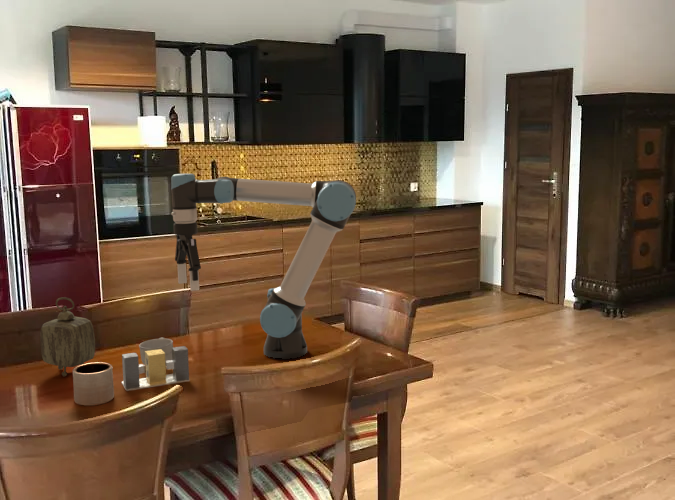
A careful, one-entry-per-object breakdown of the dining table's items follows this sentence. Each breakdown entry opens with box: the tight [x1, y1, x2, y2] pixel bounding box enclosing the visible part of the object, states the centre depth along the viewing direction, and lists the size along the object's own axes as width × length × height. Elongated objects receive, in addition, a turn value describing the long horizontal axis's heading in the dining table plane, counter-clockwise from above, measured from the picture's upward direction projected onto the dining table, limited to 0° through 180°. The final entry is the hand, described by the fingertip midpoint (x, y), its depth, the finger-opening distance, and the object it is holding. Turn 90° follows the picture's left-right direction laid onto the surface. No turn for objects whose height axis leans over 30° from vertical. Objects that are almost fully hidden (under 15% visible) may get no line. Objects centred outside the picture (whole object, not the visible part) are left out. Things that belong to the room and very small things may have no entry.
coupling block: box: [145, 349, 167, 384], centre depth 217 cm, size 5×5×9 cm
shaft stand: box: [121, 345, 191, 392], centre depth 216 cm, size 19×8×10 cm, turn 117°
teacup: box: [138, 337, 174, 366], centre depth 234 cm, size 14×11×8 cm
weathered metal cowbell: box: [39, 296, 96, 377], centre depth 223 cm, size 14×9×25 cm, turn 71°
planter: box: [72, 361, 115, 407], centre depth 202 cm, size 11×11×10 cm
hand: (188, 286), depth 230 cm, fingers open, 13 cm apart
